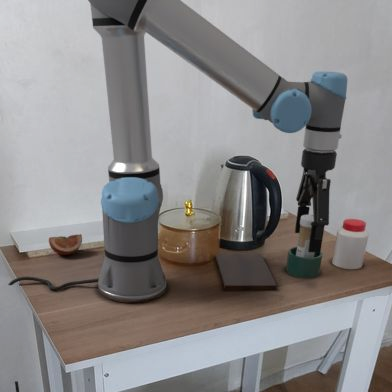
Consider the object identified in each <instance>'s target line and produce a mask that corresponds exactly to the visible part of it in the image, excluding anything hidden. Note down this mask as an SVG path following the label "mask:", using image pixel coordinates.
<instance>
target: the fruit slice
mask: <svg viewBox="0 0 392 392" xmlns="http://www.w3.org/2000/svg"><path fill="white" fill-rule="evenodd" d="M82 243H83V236H82V234H71V235H69V236H67V237H66V236H51V237H48V245H49V247H50V248H51V250H52V251H53V252H54V253H56V254H58V255H62V256H69V255H73V254H75V253H77V251H78V250H79V249H80V247H81V246H82Z"/></svg>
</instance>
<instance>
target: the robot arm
mask: <svg viewBox="0 0 392 392" xmlns="http://www.w3.org/2000/svg"><path fill="white" fill-rule="evenodd" d="M87 1H88V3H89V4H90V12H91V13H90V14H91V21H92V29H93V30H94V31H95V32H96V33H97V34H98V35H99V36H100V38H101V46H102V55H103V63H104V64H103V65H104V74H105V84H106V96H107V105H108V114H109V115H108V116H109V125H110V135H111V136H110V137H111V144H112V154H113V155H112V156H113V160H112V161H111V162H110V164H109V165H108V166H107V172H108V181H109V182H107V183H106V184H105V185H104V186H103V187H102V190H101V197H100V205H101V211H102V229H103V249H104V259H103V261H102V266H101V270H100V272H99V276H98V278H91V279H84V280H83V279H82V280H75V281H70V282H66V283H63V284H61V285H59V286H53V285H52V282H51V281H50V280H48V279H45V278H39V277H34V276H20V277H16V278H14V279H13V280H11V281H10V282H9V283H8V286H13V285H14V284H16V283H18V282H22V281H33V282H38V283H43V284H46V285H47V286H48V289H49V290H51V291H60V290H62V289H64V288H67V287H70V286H77V285H86V284H94V283H97V289H98V292H99V294H100V295H101V296H102V297H103V298H106V299H108V300H110V301H114V302H118V303H126V304H136V303H144V302H145V303H146V302H150V301H152V300H153V301H154V300H155V299H158V298H160V297H161V296H163V295H164V294H165V292H166V290H167V280H166V275H165V272H164V270H163V267H162V264H161V260H160V259H159V218H160V212H161V209H162V208H161V207H162V205H163V201H164V190H163V187H162V184H161V172H160V164H159V162H157V161H156V159H154V157H153V151H152V134H151V120H150V108H149V107H150V106H149V105H150V104H149V90H148V75H147V74H148V73H147V60H146V59H147V58H146V44H145V36H146V34H148V35H149V36H151V37H152V38H154V39H155V40H156V41H157V42H159V43H161V44H162V45H163V46H165V47H166V48H167V49H169V51H172V52H173V53H174V54H175V55H177V56H179V57H180V58H181V59H183V60H184V61H185V62H187V63H188V64H190V65H191V66H192V67H194V68H195V69H197V70H198V71H199V72H201V73H202V74H204V75H205V76H207V77H208V78H209V79H210V80H212V81H213V82H214V83H216V84H217V85H219V86H220V87H221V88H223V89H225V90H226V91H227V92H228V93H230V94H231V95H232V96H234V97H235V98H237V99H238V100H239V101H240V102H242V103H244V104H245V105H247V106H248V107H250V108H251V109H252V117H253V118H255V119H257V120H264V121H269V123H272V125H273V127H274V128H275V129H277V130H279V131H280V132H281V133H285V134H294V133H297V132H300V131H301V130H302V129H304V128H305V129H304V136H303V143H302V147H303V148H304V149H303V150H302V155H301V161H300V165H301V167H302V168H303V169H302V170H303V171H302V176H301V180H300V184H299V187H298V191H297V194H296V198H295V199H296V202H297V212H296V219H295V230H294V233H295V234H299V233H300V219H301V216H302V215H310V209H311V208H310V207H311V206H312V215H313V217H314V222H312V223H311V226H312V228H311V235H310V242H309V249H308V252H322V245H323V238H324V231H325V226H329V225H330V189H331V181H332V180H331V179H330V178H327V172H328V171H332V170H334V169H335V167H336V161H337V155H338V154H337V151H336V150H337V149H338V147H339V140H340V139H341V138H342V133H341V128H342V127H341V126H342V121H343V115H344V110H345V103H346V100H347V91H348V76H347V75H346V74H345V73H343V72H339V71H338V72H337V71H315V72H313V73H312V75H311V79H310V81H288V80H286V79H285V78H284V77H283V76H281V75H280V74H279V73H278V72H276V71H275V70H273V69H272V68H271V67H270V66H268V65H267V64H265V62H263V61H261V60H260V59H259V58H258V57H256V56H255V55H254V54H252V53H251V52H250V51H248V50H247V49H245V48H244V47H243V46H242V45H240V44H239V43H238V42H237V41H235V40H234V39H232V38H231V37H230V36H228V35H227V34H226V33H225V32H223V31H222V30H221V29H220V28H218V27H217V26H215V25H214V24H213V23H212V22H210V21H209V20H207V18H205V17H203V16H202V15H201V14H199V12H197V11H195V10H194V9H193V8H191V7H190V6H189V5H188V4H186V3H185V2H183V0H87ZM14 386H15V387H14V388H15V392H20V387H19V386H20V385H19V381H17V380H14Z"/></svg>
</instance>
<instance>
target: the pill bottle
mask: <svg viewBox="0 0 392 392" xmlns="http://www.w3.org/2000/svg"><path fill="white" fill-rule="evenodd" d="M366 226H367V223H366V222H365V221H364V220H362V219H359V218H358V219H357V218H345V219H344V220H343V223H342V226H341V227H339V228H338V229H337V231H336V236H335V242H334V247H333V253H332V259H331V263H332V264H333V266H335V267H337V268H340V269H343V270H344V269H345V270H358V269H361V268H363V266H364V260H365V256H366V249H367V246H368V241H369V236H370V234H369V231H368V230H367V229H366Z"/></svg>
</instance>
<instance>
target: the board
mask: <svg viewBox="0 0 392 392" xmlns="http://www.w3.org/2000/svg"><path fill="white" fill-rule="evenodd" d="M214 258H215V262H216V265H217V269H218V272H219V276H220V279H221V282H222V286H223V289H224V291H276V290H277V287H278V285H277V283H276V281H275V279H274V277H273V275H272V273H271V271H270V268H269V267H268V264H267V263H266V261H265V258H264V257H263V255H262V253H243V252H241V253H235V252H233V253H231V252H229V253H226V252H225V253H223V252H222V253H221V252H219V253H217V252H216V255H215V254H214Z"/></svg>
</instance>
